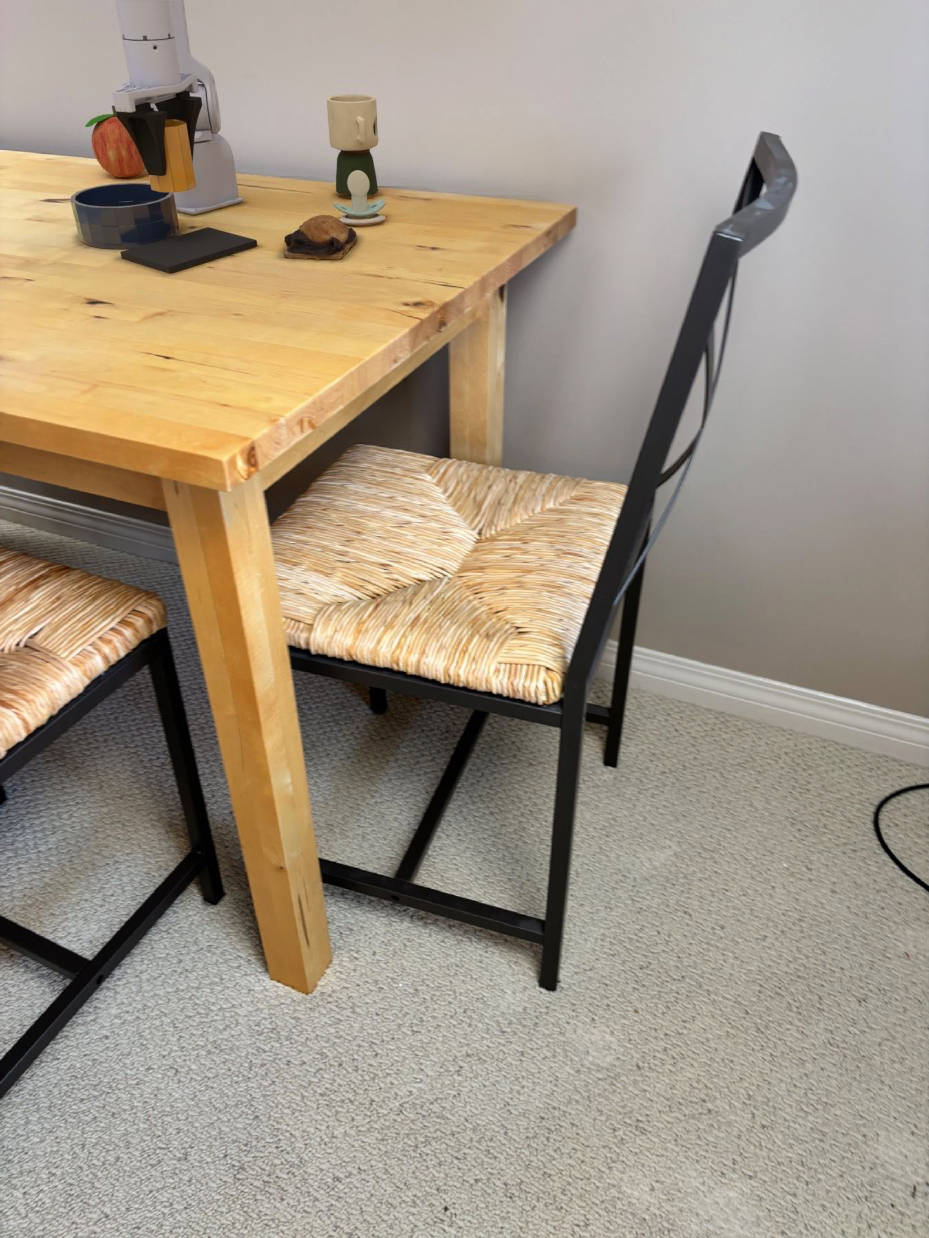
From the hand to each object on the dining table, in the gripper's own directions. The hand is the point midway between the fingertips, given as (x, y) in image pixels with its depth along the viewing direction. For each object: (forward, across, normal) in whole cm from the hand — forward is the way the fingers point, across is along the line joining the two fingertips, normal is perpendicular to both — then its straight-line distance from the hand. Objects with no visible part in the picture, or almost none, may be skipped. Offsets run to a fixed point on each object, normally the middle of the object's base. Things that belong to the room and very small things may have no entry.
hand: (171, 169), depth 113 cm
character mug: (+10, -33, +10) cm, 35 cm away
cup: (+2, 0, 0) cm, 2 cm away
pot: (+10, -4, -10) cm, 15 cm away
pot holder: (+10, 0, +1) cm, 10 cm away
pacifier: (+10, -20, +16) cm, 27 cm away
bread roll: (+10, -7, +16) cm, 20 cm away
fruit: (+10, -32, -30) cm, 45 cm away
